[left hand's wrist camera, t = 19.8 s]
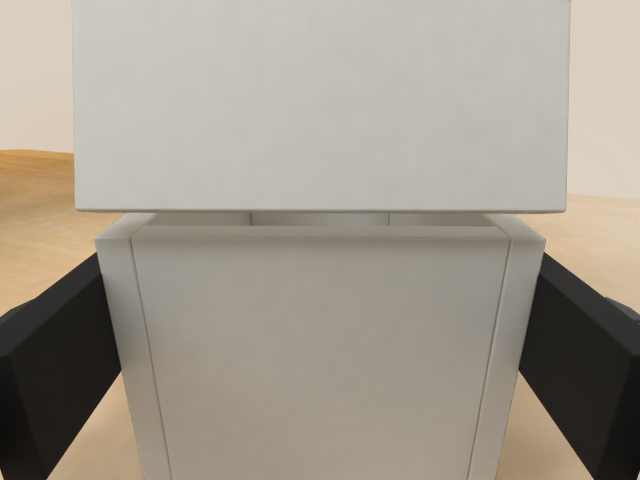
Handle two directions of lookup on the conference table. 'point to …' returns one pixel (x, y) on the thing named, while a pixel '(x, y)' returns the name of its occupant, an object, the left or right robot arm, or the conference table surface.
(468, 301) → the chest
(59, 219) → the conference table surface
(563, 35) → the lid
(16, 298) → the conference table surface
